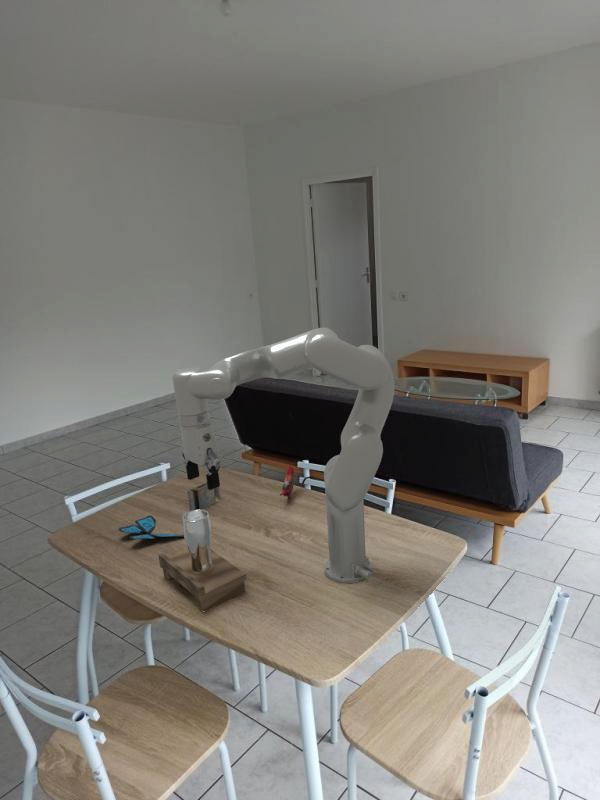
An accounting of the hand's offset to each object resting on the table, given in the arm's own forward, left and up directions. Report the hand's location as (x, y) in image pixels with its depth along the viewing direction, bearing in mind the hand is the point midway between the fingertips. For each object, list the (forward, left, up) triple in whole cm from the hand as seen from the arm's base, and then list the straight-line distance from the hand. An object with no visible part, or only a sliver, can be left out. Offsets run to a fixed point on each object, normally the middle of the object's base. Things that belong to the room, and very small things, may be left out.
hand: (203, 482), depth 147 cm
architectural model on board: (+40, -21, -28) cm, 53 cm away
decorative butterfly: (+35, +3, -28) cm, 44 cm away
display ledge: (-1, +4, -27) cm, 27 cm away
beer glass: (-1, +4, -22) cm, 23 cm away
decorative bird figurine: (+22, -42, -27) cm, 55 cm away
